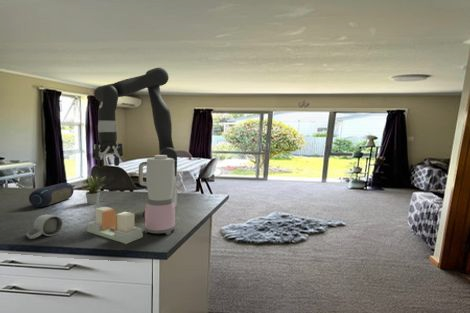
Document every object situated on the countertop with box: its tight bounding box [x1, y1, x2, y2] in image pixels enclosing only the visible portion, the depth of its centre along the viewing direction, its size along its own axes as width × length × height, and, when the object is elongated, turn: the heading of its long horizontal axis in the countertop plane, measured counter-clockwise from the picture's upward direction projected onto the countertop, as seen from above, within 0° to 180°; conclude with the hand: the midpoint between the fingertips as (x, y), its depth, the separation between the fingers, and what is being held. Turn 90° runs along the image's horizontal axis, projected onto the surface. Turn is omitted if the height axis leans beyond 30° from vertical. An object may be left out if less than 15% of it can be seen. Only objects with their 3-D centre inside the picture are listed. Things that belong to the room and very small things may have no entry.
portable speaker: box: [28, 182, 74, 208], centre depth 151 cm, size 25×10×10 cm, turn 175°
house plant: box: [79, 175, 105, 206], centre depth 152 cm, size 14×14×16 cm
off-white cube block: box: [95, 206, 116, 230], centre depth 111 cm, size 6×6×8 cm
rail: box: [86, 211, 144, 245], centre depth 108 cm, size 8×23×10 cm, turn 62°
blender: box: [138, 154, 176, 236], centre depth 113 cm, size 16×12×32 cm
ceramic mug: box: [26, 214, 64, 240], centre depth 105 cm, size 11×8×8 cm
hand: (108, 166), depth 123 cm, fingers open, 8 cm apart
